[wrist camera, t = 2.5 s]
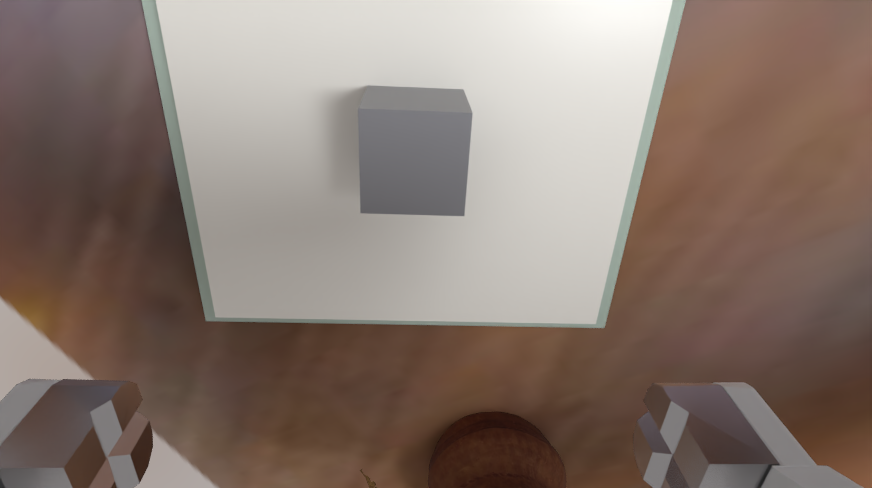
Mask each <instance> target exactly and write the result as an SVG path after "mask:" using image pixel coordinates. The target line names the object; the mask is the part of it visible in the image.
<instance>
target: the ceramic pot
mask: <svg viewBox="0 0 872 488" xmlns="http://www.w3.org/2000/svg"><path fill="white" fill-rule="evenodd" d="M360 471H361V472H362V469H361V470H360ZM362 474H363V472H362ZM363 475H364V474H363ZM364 476H365V477H366V480H367V483H368V485H369V488H374V486H375V485H376V483H375V482H374V481H373V482H371V481H370V478H369V477H368V476H366V475H364ZM428 486H429V488H566V473H565V469H564V465H563V462H562V460H561V458H560V456H559V454H558V453H557V451H556V450H555V449H554V448H553V447H552V446H551V445H550V443H549V442H548V441H547V440H546V438H545V437H544V436H543V434H542V433H541V432H540V431H539V430H538V429H537V428H536V427H535V426H534V425H532V424H531V423H529V422H528V421H526V420H524V419H523V418H521V417H518V416H516V415H512V414H508V413H502V412H483V413H476V414H472V415H469V416H466V417H464V418H462V419H460V420H458V421H457V422H455V423H454V424H453V425H452V426H451V427H450V428H449V429H448V430H447V431H446V432H445V433H444V434H443V435H442V437H441V438H440V440H439V441H438V443H437V446H436V448H435V451H434V454H433V456H432V459H431V462H430V465H429V477H428ZM375 488H377V487H375Z"/></svg>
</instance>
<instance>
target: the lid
mask: <svg viewBox="0 0 872 488" xmlns="http://www.w3.org/2000/svg"><path fill="white" fill-rule="evenodd" d="M672 1H673V0H156V5H157V10H158V16H159V21H160V26H161V32H162V37H163V42H164V48H165V53H166V58H167V63H168V69H169V74H170V79H171V85H172V90H173V95H174V100H175V106H176V111H177V116H178V122H179V127H180V132H181V138H182V143H183V148H184V153H185V159H186V164H187V169H188V175H189V180H190V185H191V191H192V196H193V201H194V206H195V212H196V217H197V222H198V228H199V233H200V238H201V243H202V249H203V254H204V259H205V265H206V270H207V275H208V281H209V286H210V291H211V296H212V302H213V307H214V312H215V317H218V318H275V319H332V320H388V321H445V322H502V323H558V324H596V321H597V317H598V313H599V309H600V305H601V300H602V296H603V292H604V288H605V284H606V279H607V275H608V271H609V267H610V262H611V258H612V254H613V250H614V246H615V241H616V237H617V233H618V229H619V225H620V220H621V216H622V212H623V208H624V203H625V199H626V195H627V191H628V187H629V182H630V178H631V174H632V170H633V166H634V161H635V157H636V153H637V149H638V145H639V140H640V136H641V132H642V128H643V123H644V119H645V115H646V111H647V107H648V102H649V98H650V94H651V90H652V86H653V81H654V77H655V73H656V69H657V65H658V60H659V56H660V52H661V48H662V43H663V39H664V35H665V31H666V27H667V22H668V18H669V14H670V10H671V6H672Z"/></svg>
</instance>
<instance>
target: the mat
mask: <svg viewBox="0 0 872 488" xmlns="http://www.w3.org/2000/svg"><path fill="white" fill-rule="evenodd" d="M685 1H686V0H673V1H672V6H671V10H670V14H669V18H668V22H667V27H666V31H665V35H664V39H663V43H662V48H661V52H660V56H659V60H658V65H657V69H656V73H655V77H654V81H653V86H652V90H651V94H650V98H649V102H648V107H647V111H646V115H645V119H644V123H643V128H642V132H641V136H640V140H639V145H638V149H637V153H636V157H635V161H634V166H633V170H632V174H631V178H630V182H629V187H628V191H627V195H626V199H625V203H624V208H623V212H622V216H621V220H620V225H619V229H618V233H617V237H616V241H615V246H614V250H613V254H612V258H611V262H610V267H609V271H608V275H607V279H606V284H605V288H604V292H603V296H602V300H601V305H600V309H599V313H598V317H597V321H596V324H558V323H502V322H445V321H388V320H332V319H275V318H218V317H215V312H214V307H213V302H212V296H211V291H210V286H209V281H208V275H207V270H206V265H205V259H204V254H203V249H202V243H201V238H200V233H199V228H198V222H197V217H196V212H195V206H194V201H193V196H192V191H191V185H190V180H189V175H188V169H187V164H186V159H185V153H184V148H183V143H182V138H181V132H180V127H179V122H178V116H177V111H176V106H175V100H174V95H173V90H172V85H171V79H170V74H169V69H168V63H167V58H166V53H165V48H164V42H163V37H162V32H161V26H160V21H159V16H158V10H157V5H156V0H142V5H143V10H144V15H145V20H146V25H147V30H148V35H149V40H150V45H151V50H152V55H153V60H154V65H155V70H156V75H157V80H158V85H159V90H160V95H161V100H162V105H163V110H164V115H165V120H166V125H167V130H168V135H169V140H170V145H171V150H172V155H173V160H174V165H175V170H176V175H177V180H178V185H179V190H180V195H181V200H182V205H183V210H184V215H185V220H186V225H187V230H188V235H189V240H190V245H191V250H192V255H193V260H194V265H195V270H196V275H197V280H198V285H199V290H200V295H201V300H202V305H203V310H204V315H205V320H206V321H225V322H283V323H341V324H399V325H457V326H515V327H573V328H605V324H606V320H607V316H608V312H609V308H610V304H611V300H612V295H613V291H614V287H615V283H616V279H617V275H618V271H619V267H620V263H621V259H622V255H623V251H624V247H625V243H626V239H627V235H628V231H629V227H630V223H631V219H632V215H633V211H634V207H635V203H636V199H637V195H638V191H639V187H640V183H641V179H642V175H643V171H644V167H645V163H646V158H647V154H648V150H649V146H650V142H651V138H652V134H653V130H654V126H655V122H656V118H657V114H658V110H659V106H660V102H661V98H662V94H663V90H664V86H665V82H666V78H667V74H668V70H669V66H670V62H671V58H672V54H673V50H674V46H675V42H676V38H677V34H678V30H679V26H680V21H681V17H682V13H683V9H684V5H685Z"/></svg>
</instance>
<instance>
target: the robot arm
mask: <svg viewBox="0 0 872 488" xmlns="http://www.w3.org/2000/svg"><path fill="white" fill-rule="evenodd" d="M142 400H143V399H142V396H141V393H140V390H139V388H138V385H137V384H136V383H133V382H130V381H108V380H71V379H63V380H45V379H28V380H26V381H23V382H21V383H19V384H17V385H16V386H15V387H14V388H13V389H12V390H11V391H10V392H9V393H8V394H7V395H6V396H5V397H4V398H3V399H2V400H1V401H0V488H134V487H135V486H137V484H139V483H140V481H141V479H142V477H143V475H144V473H145V471H146V469H147V467H148V464H149V460H150V456H151V452H152V448H153V436H152V429H151V425H150V422H149V420H148V419H146V418H145V417H144V416H143V415H141V414H140V413H139V412H138V411H136V410H137V408H138V407H139V405H140V404H141V402H142ZM644 403H645V405H646V407H647V409H648V410H649V411H648V412H647V413H646V414H644V415H643V416H642V417H641V418H640V419H638V420H637V423H636V426H635V430H634V434H633V448H634V455H635V459H636V463H637V466H638V469H639V471H640V473H641V476H642V478H643V480H644V481H646V482H647V483H648V484H649V485H650V486H652V487H653V488H863V487H862V486H860V485H858V484H857V483H855V482H853V481H852V480H850V479H848V478H847V477H845V476H844V475H842V474H840V473H839V472H837V471H835V470H834V469H832V468H830V467H829V466H819V465H816V463H815V462H814V461H813V460H812V458H811V457H810V456H809V455H808V454H807V452H806V451H805V450H804V449H803V447H802V446H801V445H800V444H799V443H798V441H797V440H796V439H795V438H794V437H793V435H792V434H791V433H790V432H789V430H788V429H787V428H786V427H785V426H784V424H783V423H782V422H781V421H780V419H779V418H778V417H777V416H776V415H775V413H774V412H773V411H772V410H771V408H770V407H769V406H768V405H767V404H766V402H765V401H764V400H763V399H762V397H761V396H760V395H759V394H758V393H757V391H756V390H755V389H754V388H753V387H752V386H750V385H748V384H747V383H745V382H714V383H653V384H652V385H651V386H650V387H649V388H648V389H647V392H646V395H645V398H644Z"/></svg>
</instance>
